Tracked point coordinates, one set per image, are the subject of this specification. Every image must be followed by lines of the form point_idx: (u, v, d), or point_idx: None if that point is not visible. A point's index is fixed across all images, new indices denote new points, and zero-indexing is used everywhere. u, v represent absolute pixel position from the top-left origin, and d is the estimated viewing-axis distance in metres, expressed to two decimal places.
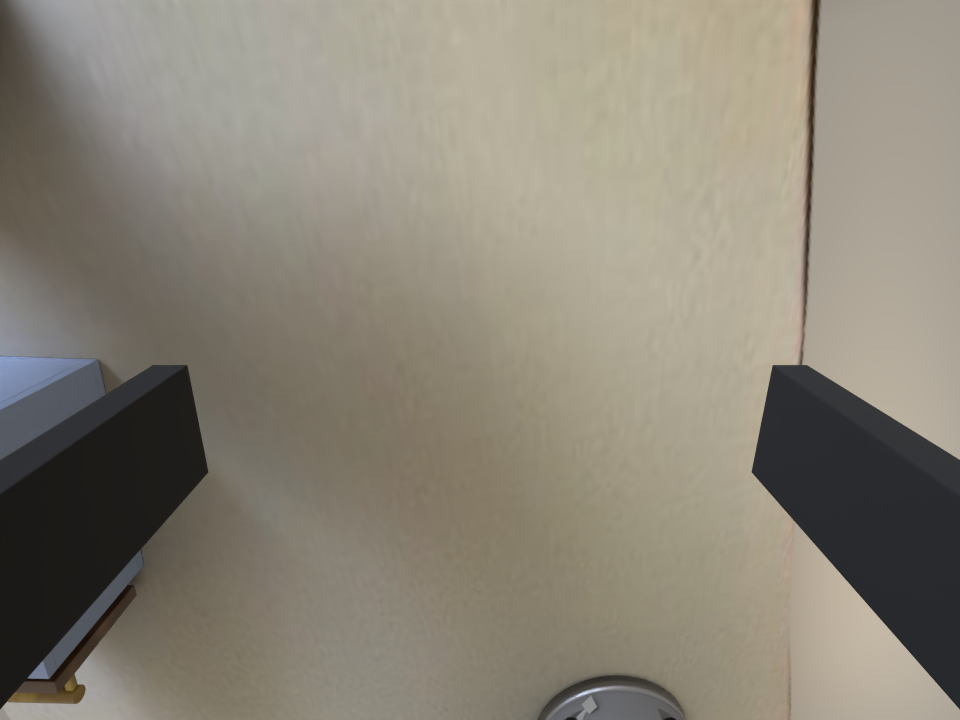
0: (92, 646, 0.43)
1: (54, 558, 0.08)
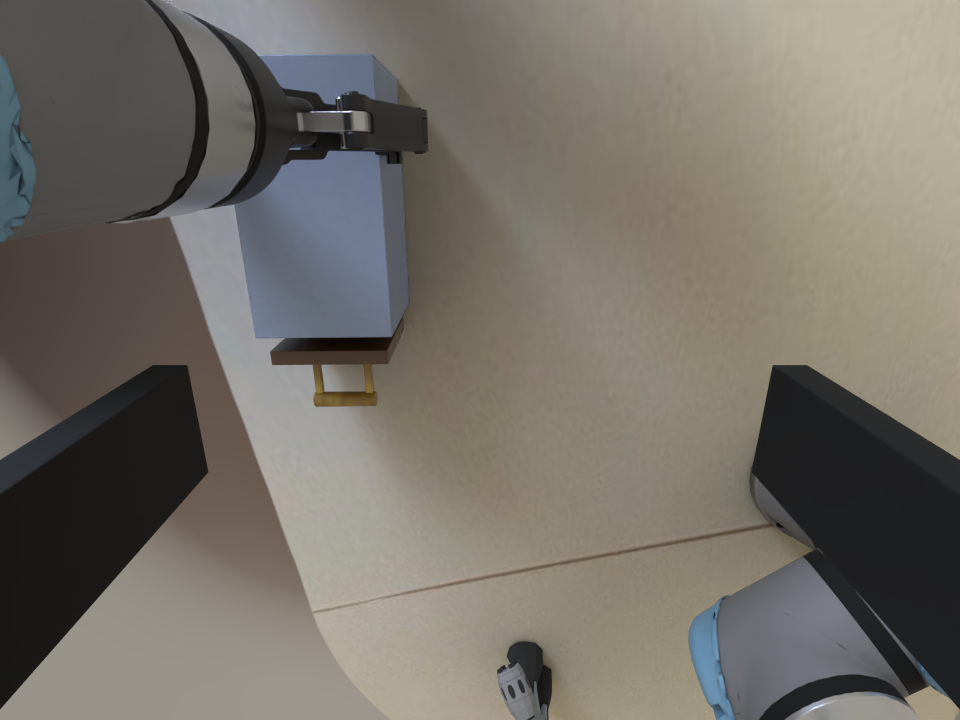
0: (394, 345, 0.48)
1: (54, 558, 0.08)
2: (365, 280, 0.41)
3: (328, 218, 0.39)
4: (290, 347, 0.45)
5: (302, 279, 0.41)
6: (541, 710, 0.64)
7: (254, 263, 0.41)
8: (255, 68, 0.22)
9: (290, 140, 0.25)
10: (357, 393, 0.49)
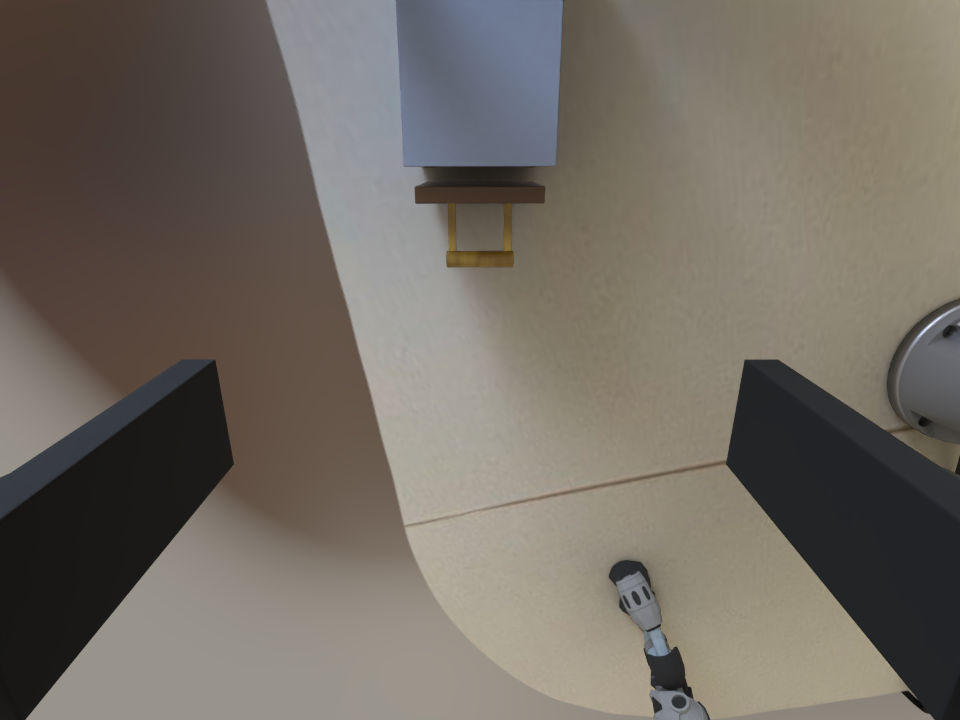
0: None
1: (99, 542, 0.09)
2: (533, 95, 0.37)
3: (500, 16, 0.35)
4: None
5: (463, 93, 0.37)
6: None
7: (411, 73, 0.36)
8: None
9: None
10: (494, 251, 0.45)
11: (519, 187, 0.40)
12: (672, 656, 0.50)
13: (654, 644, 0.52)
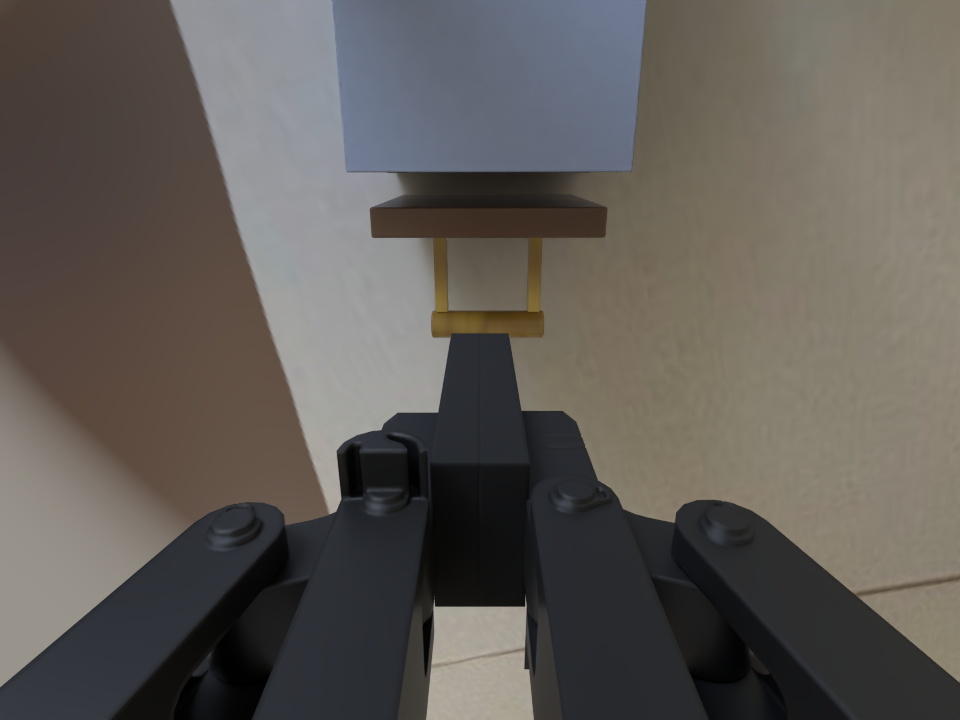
0: None
1: None
2: (594, 34, 0.19)
3: None
4: (406, 205, 0.22)
5: (457, 29, 0.19)
6: None
7: None
8: None
9: None
10: (510, 313, 0.27)
11: (560, 209, 0.22)
12: None
13: None
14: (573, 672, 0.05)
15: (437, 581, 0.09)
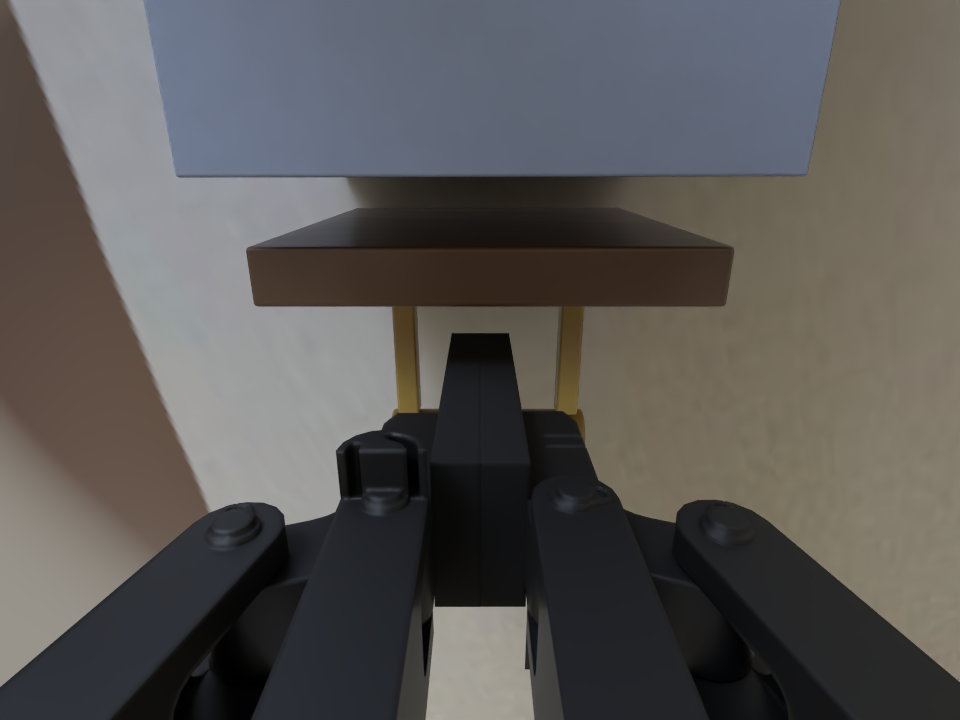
0: None
1: None
2: None
3: None
4: (326, 241, 0.11)
5: None
6: None
7: None
8: None
9: None
10: None
11: (638, 251, 0.10)
12: None
13: None
14: (574, 672, 0.05)
15: (437, 581, 0.09)
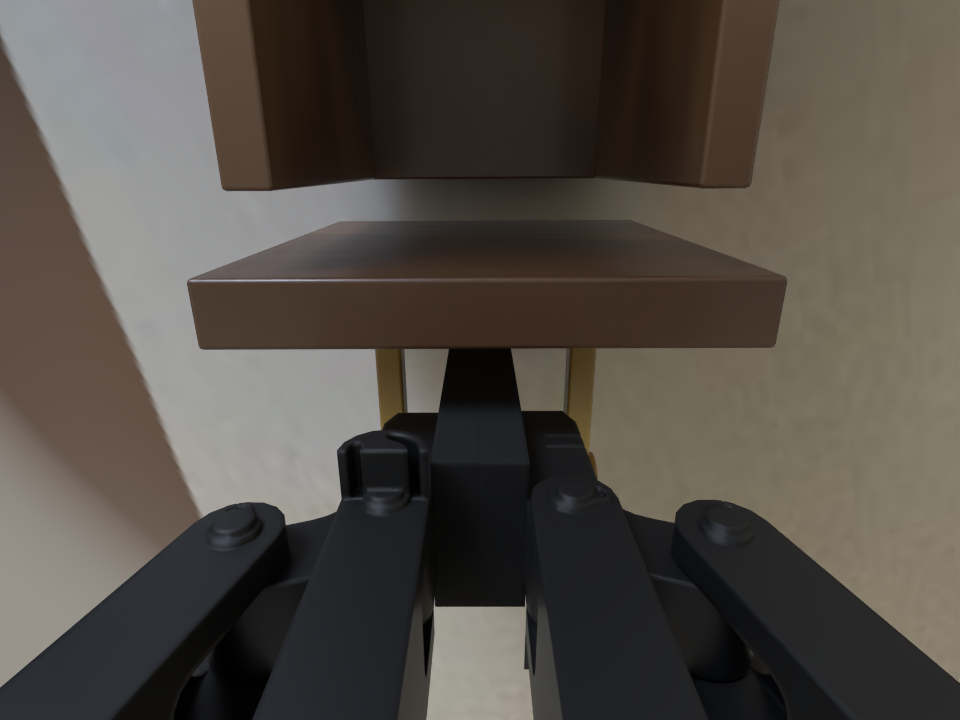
0: None
1: None
2: None
3: None
4: (288, 269, 0.09)
5: None
6: None
7: None
8: None
9: None
10: None
11: (669, 282, 0.09)
12: None
13: None
14: (573, 672, 0.05)
15: (437, 581, 0.09)
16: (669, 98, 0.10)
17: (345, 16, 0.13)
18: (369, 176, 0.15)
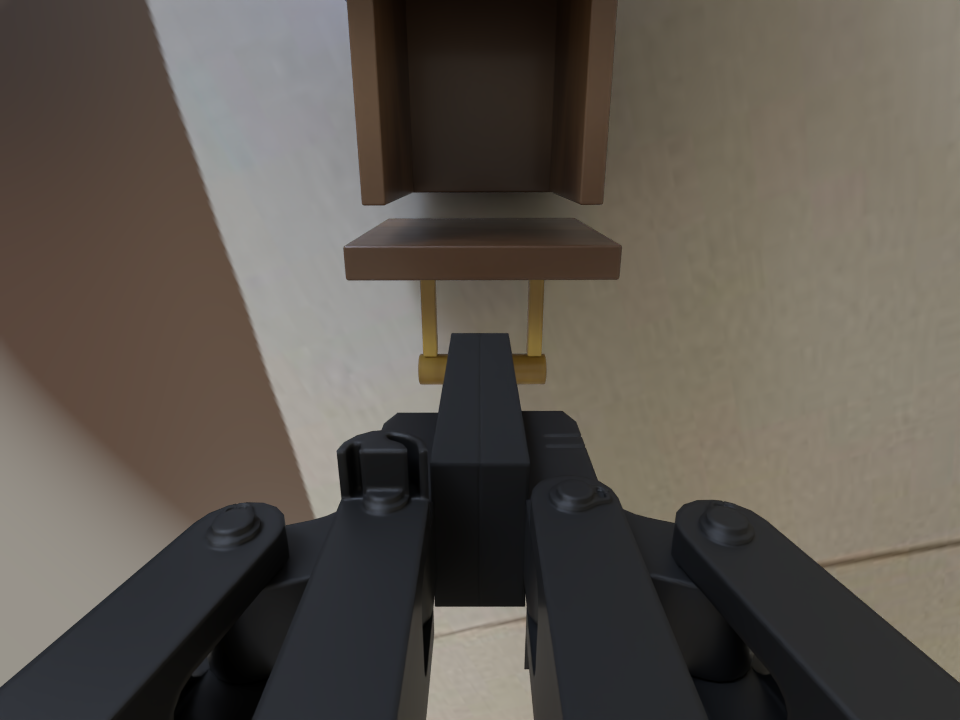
0: None
1: None
2: None
3: None
4: (386, 242, 0.19)
5: None
6: None
7: None
8: None
9: None
10: None
11: (567, 247, 0.18)
12: None
13: None
14: (573, 672, 0.05)
15: (437, 581, 0.09)
16: (572, 159, 0.19)
17: (403, 103, 0.23)
18: (411, 191, 0.25)
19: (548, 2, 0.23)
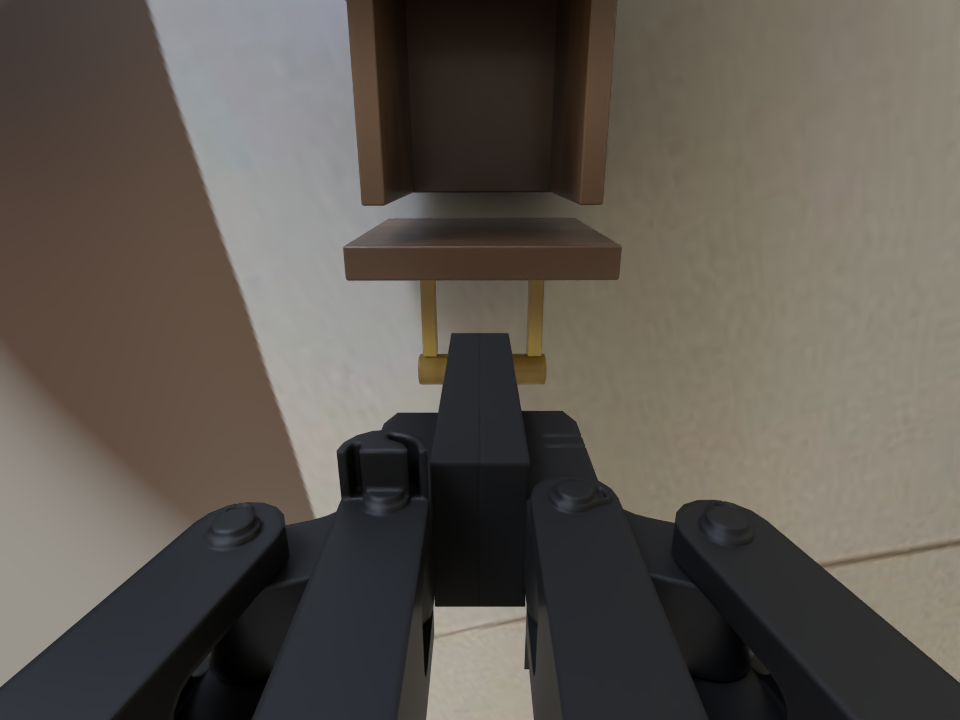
0: None
1: None
2: None
3: None
4: (386, 242, 0.19)
5: None
6: None
7: None
8: None
9: None
10: None
11: (567, 247, 0.18)
12: None
13: None
14: (573, 672, 0.05)
15: (437, 581, 0.09)
16: (572, 159, 0.19)
17: (403, 103, 0.23)
18: (411, 191, 0.25)
19: (548, 2, 0.23)
